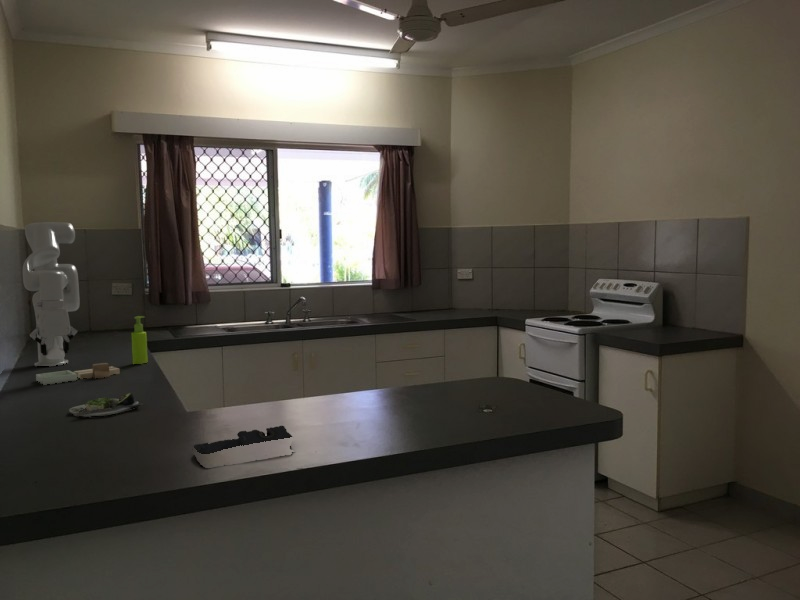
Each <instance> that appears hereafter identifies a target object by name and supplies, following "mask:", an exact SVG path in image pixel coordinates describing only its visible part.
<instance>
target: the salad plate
mask: <svg viewBox="0 0 800 600" xmlns="http://www.w3.org/2000/svg"><path fill="white" fill-rule="evenodd" d="M142 405H143V403H142V402H141V403H140V402H139V401H137V400H135V397H134V395H133V393H132V392H129V393H127V394H125V395H121V396H119V398H110V397H106V396H105V397H99V398H97V399H96V398H95V399H93V400H88V401H87V402H86V403H85V404H84V403H83V404H81V405H76V406H72V407H71V408H69V409H68V413H69V414H70V415H72V414H73V416H75V417H79V416H83V417H82V418H86V417H89V418H92V417H91V416H104V417H106V416H105V415H111V414H115V413H119V412H122V411H125V410H129V409H133V408H136V407H137V408H138V407H140V406H142ZM85 408H86V409H87V410H86V411H82V412H80V413H79V411H80V410H83V409H85ZM137 408H136V409H137Z"/></svg>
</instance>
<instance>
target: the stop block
mask: <svg viewBox="0 0 800 600" xmlns="http://www.w3.org/2000/svg"><path fill="white" fill-rule="evenodd" d="M109 367H110V364H109V363H108V362H100V363H94V364H92V369H93V378H92V379H96V378H98V379H103V378H104V377H105V378H110V376H111V375H110V374H109ZM105 378H104V379H105ZM96 380H97V379H96Z"/></svg>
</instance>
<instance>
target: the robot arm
mask: <svg viewBox="0 0 800 600" xmlns="http://www.w3.org/2000/svg"><path fill="white" fill-rule="evenodd" d="M24 235H25V239H26V241H27V243H28V245H29V247H30V249H31V251H32V253H31V254H29V255H28V256H27V258H26V259H25V260H24V262H23V265H22V282H23V286H24V288H25V289H26V290H27V291H30V292H35V293H33V295H32V299H31V300H32V305H33V310H34V316H35V324H36V326H35V327H36V328H35V329H34V330H33V331H31V333H29V337H30V338H32V339H33V340H34V341H36V342H37V357H38V361H36V362H34V367H37V366H49V367H56V365H58V366H63V364H64V365H67V364H69V359H65V356H64V357H63V358H60V359H47V358H46V356H45V355H47V350H48V349H50V348H51V347H52V344H53V337H56V338H57V342H58V346H59V348H61V349H63V350H64V352H65V354H68V353H69V350H70V346H69V345H70V341H71V340H72V339H73V338H74V336H75V335H76V334H77V333H78V331H79V330H77V329H76V328H75V327H73V326H72V325H71V323H70V321H71V320H70V316H69V312H76V311H77V310H79V308H80V303H81V302H80V300H81V299H80V287H79V285H80V284H79V274H78V269H77V267H76V265H74V264H72V263H58V259H59V257H60V255H61V251H60V244H73V243H74V242H75V240H76V230H75V228H74V226H73V224H72V223H70V222H65V221H64V222H61V221H60V222H57V221H43V222H31V223H28V224H26V225H25V227H24ZM65 288H66V289H65ZM66 363H67V364H66Z"/></svg>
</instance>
